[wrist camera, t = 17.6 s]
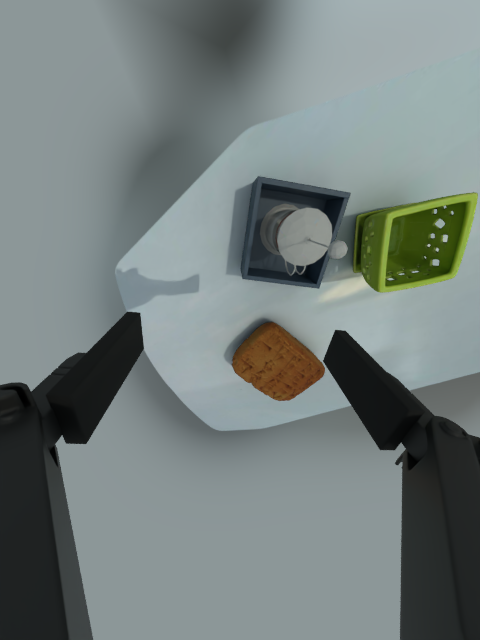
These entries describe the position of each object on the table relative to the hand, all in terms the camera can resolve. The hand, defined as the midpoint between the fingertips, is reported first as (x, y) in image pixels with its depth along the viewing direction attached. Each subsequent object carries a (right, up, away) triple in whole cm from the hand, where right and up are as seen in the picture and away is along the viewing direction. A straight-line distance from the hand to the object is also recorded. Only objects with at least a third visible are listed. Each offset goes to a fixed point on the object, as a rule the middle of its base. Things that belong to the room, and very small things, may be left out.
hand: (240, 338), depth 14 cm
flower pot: (+30, +19, +31) cm, 47 cm away
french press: (+9, +19, +29) cm, 36 cm away
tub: (+9, +19, +30) cm, 37 cm away
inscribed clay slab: (+10, -8, +45) cm, 46 cm away
